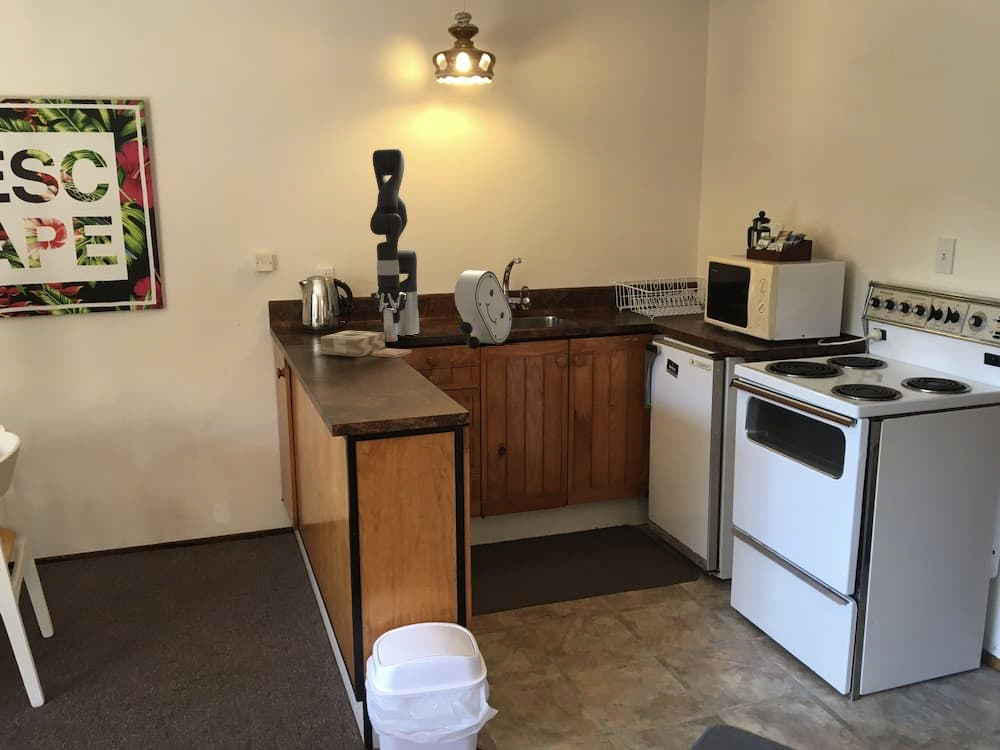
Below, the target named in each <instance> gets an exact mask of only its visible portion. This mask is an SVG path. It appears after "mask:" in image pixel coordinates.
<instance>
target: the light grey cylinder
mask: <svg viewBox="0 0 1000 750" xmlns="http://www.w3.org/2000/svg"><path fill="white" fill-rule="evenodd" d="M394 313H395V312H394V310H393V307H392V308H387V307H386V309H383V315H384V323H383V327H384V328H383V331H384V332H383V333H384V337H385V342H388V343H389V342H390V343H391V342H392V343H393V342H398V336H397V323H394Z"/></svg>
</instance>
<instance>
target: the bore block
mask: <svg viewBox="0 0 1000 750" xmlns="http://www.w3.org/2000/svg"><path fill="white" fill-rule="evenodd" d="M320 348H321V354H322V355H330V356H331V355H332V356H343V357H344V356H346V357H357V358H360V357H364V356H367V355H369V354H370V355H371V353H373V352H377V351H380V350H383V349H386V341H385V334H384V332H382V331H381V332H379V331H378V332H377V331H363V330H350V329H349V330H343V331H339V332H335V333H332V334H327V335H323V336H320Z"/></svg>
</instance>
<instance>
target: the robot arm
mask: <svg viewBox="0 0 1000 750" xmlns="http://www.w3.org/2000/svg"><path fill="white" fill-rule="evenodd" d="M372 165H373V172H374V176H375V180H376V183H377V184H376V185H377V189H378V193H377V200H376V201H377V204H376V207H375V210H374V212H373V214H372V216H371V218H370V222H369V228H370V230H371V232H372V233H373V234H374V235H377V236H385V241H382V242H378V243H377V245H376V258H377V259H376V260H377V261H376V262H377V263H376V278H377V287H378V289H377V291H376V292H371V293H370V297H371V301H372V304H373V308H374V310H375V311H378V312H379V313H380V315H379V317H380V321H381V323H383V324H384V315H383V309H387V307H388V305H389V304H390V306H391V307H392V308H393V310H394V312H395V313H394V323H397V335H400V336H399V337H406V336H405V335H413V336H415V335H414V334H418V333H419V334H420V315H419V313H420V312H419V308H418V306H419V305H418V282H417V281H418V280H417V276H418V275H417V274H418V273H417V272H418V271H417V270H418V268H417V267H418V259H417V253H416V252H415V250H414V249H412V250H411V249H398V247H399V246H398V245H399V239H400V237H401V235H402V234H403V232H404V230H405V229H406V227H407V224H408V214H407V207H406V203H405V202H404V200H403V199H402V197H400V196H399V193H400V189H401V185H402V181H403V177H404V173H405V155H404V152H403V151H402V150H401V149H399V148H387V149H386V148H384V149H376V150H373V153H372ZM387 176H388V177H389V176H390V177H389V178H388V179H387ZM400 275H407V277H406V278H405V279H404V280H402V281H401V280H400ZM419 334H418V335H419Z"/></svg>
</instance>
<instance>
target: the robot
mask: <svg viewBox="0 0 1000 750" xmlns="http://www.w3.org/2000/svg"><path fill="white" fill-rule="evenodd" d="M454 303H455V307H456V309H457V312H458V313H459V315H460V317H461V319H462V322H461V323H460V324H459V326H458V329H459V332H460V333H461V334H463V335H464V336H467V335H469V337H468V338H466V339H467V340H466V346H467V347H468V348H470V349H471V350H475V349H478V348H479V347H480V345H481V344H487V345H488V344H489V345H502V344H504V343H505V342H506V341H507V340H508V338H509V336H510V334H511V331H512V327H513V311H512V309H511V305H510V303H509V301H508V299H507V297H506V295H505V292H504V290H503V288H502V286H501V283H500V280H499V279H498V277H497V276H496V274H495V273H494V272H493V271H490V270H473V269H469V270H464V271H463V272H461V274H460V276H459V277H458V279H457V281H456V283H455V287H454Z"/></svg>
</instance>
